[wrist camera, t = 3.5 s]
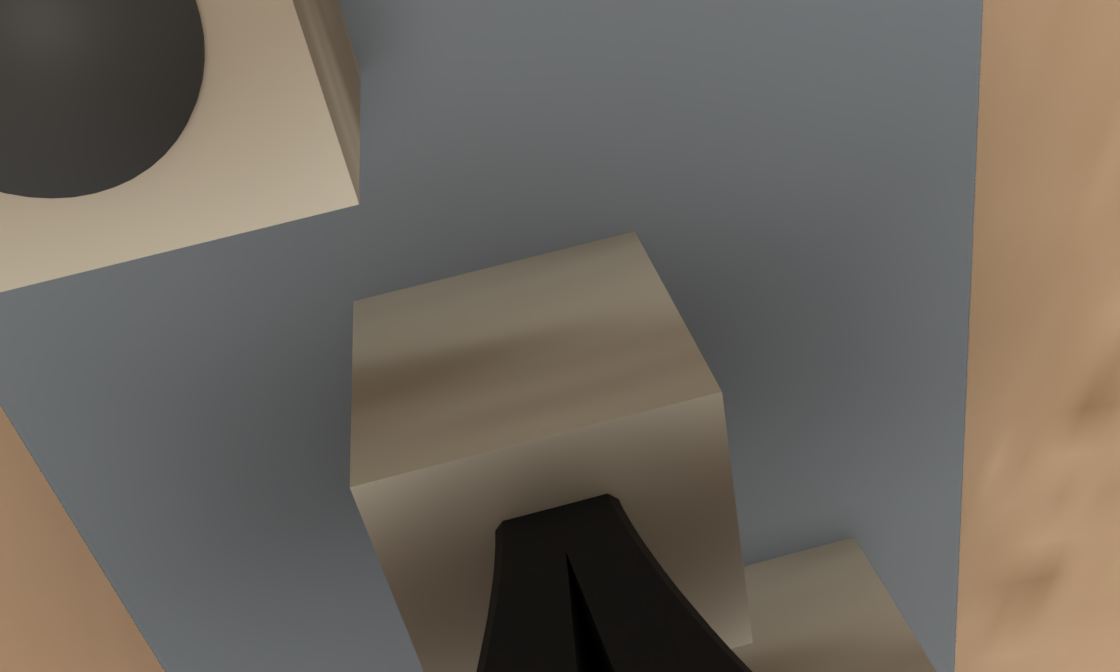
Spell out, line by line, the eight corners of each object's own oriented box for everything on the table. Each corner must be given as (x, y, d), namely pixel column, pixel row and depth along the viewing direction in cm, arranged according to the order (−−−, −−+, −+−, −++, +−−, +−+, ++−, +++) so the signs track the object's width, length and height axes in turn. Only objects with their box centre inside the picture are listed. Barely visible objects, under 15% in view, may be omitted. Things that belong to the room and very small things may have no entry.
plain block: (670, 451, 16) (752, 642, 13) (427, 513, 16) (445, 725, 12) (634, 231, 14) (721, 391, 10) (353, 301, 14) (349, 488, 10)
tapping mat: (934, 656, 21) (953, 686, 20) (289, 831, 21) (286, 868, 20) (967, -589, 10) (1008, -610, 10) (-381, -297, 10) (-436, -300, 9)
